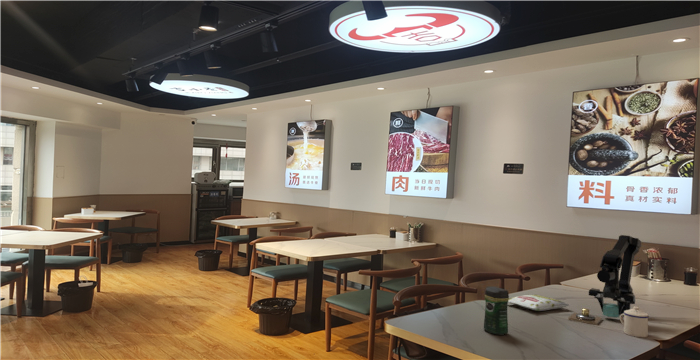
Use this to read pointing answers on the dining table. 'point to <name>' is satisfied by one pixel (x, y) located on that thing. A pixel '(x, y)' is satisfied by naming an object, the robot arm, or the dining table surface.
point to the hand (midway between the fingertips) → (611, 313)
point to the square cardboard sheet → (585, 317)
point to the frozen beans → (537, 302)
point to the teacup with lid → (635, 322)
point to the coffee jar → (496, 310)
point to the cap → (610, 310)
